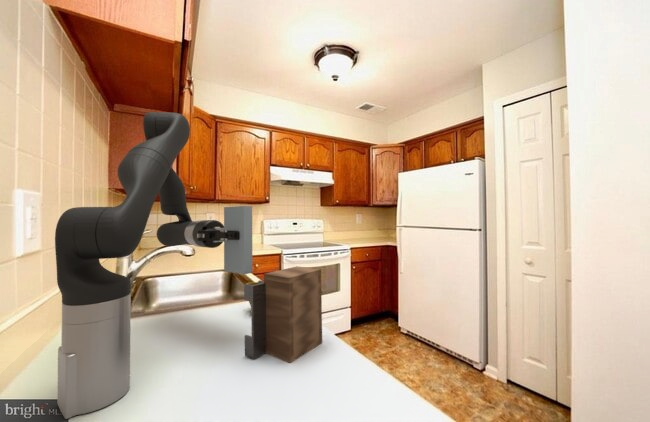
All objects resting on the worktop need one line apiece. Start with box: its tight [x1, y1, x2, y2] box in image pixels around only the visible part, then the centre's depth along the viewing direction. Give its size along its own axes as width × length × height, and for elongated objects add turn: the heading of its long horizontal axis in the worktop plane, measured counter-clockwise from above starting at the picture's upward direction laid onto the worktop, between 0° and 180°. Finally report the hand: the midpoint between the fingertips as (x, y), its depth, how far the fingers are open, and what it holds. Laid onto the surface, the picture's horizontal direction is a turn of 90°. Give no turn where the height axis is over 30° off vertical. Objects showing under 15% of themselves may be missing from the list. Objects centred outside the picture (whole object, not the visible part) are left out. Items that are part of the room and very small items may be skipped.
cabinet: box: [263, 265, 323, 364], centre depth 64 cm, size 11×8×18 cm
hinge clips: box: [243, 280, 267, 361], centre depth 61 cm, size 5×3×16 cm
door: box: [223, 205, 254, 275], centre depth 66 cm, size 2×8×16 cm, turn 54°
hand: (243, 235), depth 65 cm, fingers closed on door, 2 cm apart
